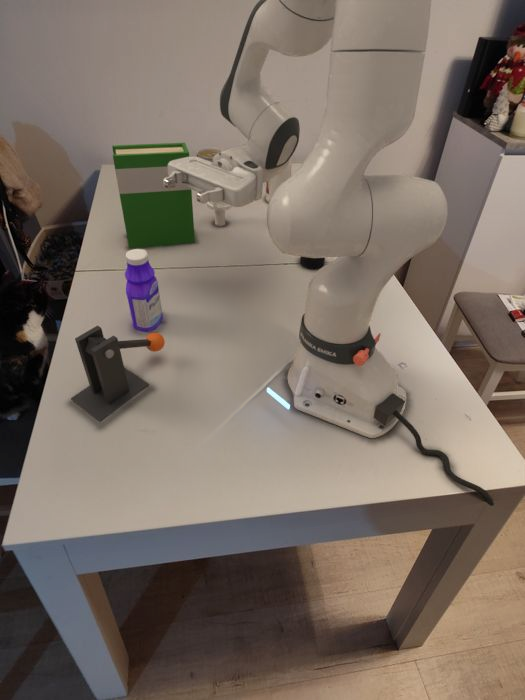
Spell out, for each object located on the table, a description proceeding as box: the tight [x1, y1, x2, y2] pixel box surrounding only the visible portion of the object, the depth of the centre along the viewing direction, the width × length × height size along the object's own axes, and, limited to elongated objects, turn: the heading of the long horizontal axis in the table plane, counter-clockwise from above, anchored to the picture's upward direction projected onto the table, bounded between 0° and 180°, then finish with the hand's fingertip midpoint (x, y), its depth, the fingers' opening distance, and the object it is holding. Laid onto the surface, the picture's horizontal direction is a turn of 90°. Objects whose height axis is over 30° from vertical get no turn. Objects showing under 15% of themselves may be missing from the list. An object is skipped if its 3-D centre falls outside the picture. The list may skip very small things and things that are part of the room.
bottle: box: [124, 248, 164, 332], centre depth 90 cm, size 7×6×17 cm
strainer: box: [206, 201, 233, 227], centre depth 127 cm, size 7×7×15 cm
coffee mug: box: [196, 147, 225, 162], centre depth 150 cm, size 13×10×10 cm
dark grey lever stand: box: [70, 325, 150, 423], centre depth 76 cm, size 11×8×14 cm
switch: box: [86, 332, 166, 356], centre depth 78 cm, size 16×4×4 cm, turn 143°
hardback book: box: [111, 142, 196, 250], centre depth 115 cm, size 18×7×24 cm, turn 105°
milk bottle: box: [265, 156, 293, 203], centre depth 139 cm, size 8×8×20 cm
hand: (182, 191), depth 85 cm, fingers open, 8 cm apart
